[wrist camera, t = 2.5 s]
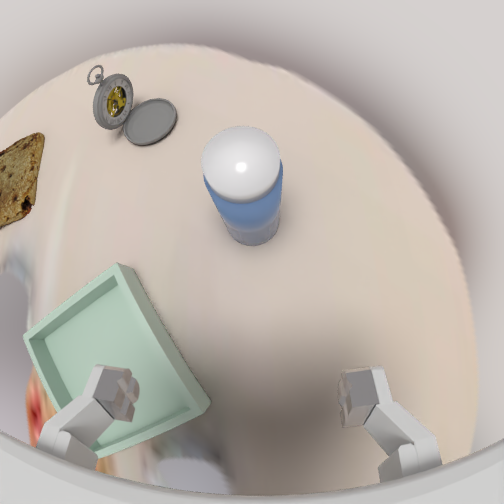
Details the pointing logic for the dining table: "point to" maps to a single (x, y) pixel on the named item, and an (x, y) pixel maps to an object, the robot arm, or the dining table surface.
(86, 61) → the dining table surface
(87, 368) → the tray
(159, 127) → the pocket watch
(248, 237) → the shaker
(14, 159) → the pastry
